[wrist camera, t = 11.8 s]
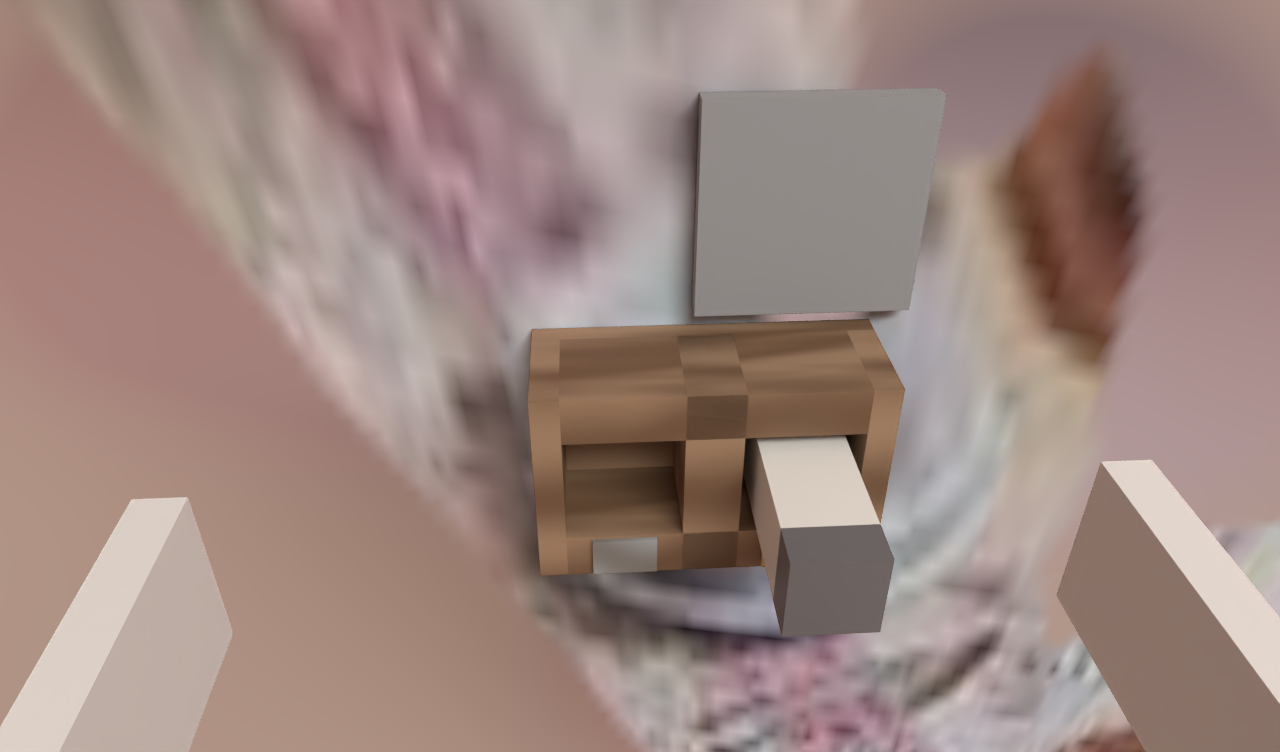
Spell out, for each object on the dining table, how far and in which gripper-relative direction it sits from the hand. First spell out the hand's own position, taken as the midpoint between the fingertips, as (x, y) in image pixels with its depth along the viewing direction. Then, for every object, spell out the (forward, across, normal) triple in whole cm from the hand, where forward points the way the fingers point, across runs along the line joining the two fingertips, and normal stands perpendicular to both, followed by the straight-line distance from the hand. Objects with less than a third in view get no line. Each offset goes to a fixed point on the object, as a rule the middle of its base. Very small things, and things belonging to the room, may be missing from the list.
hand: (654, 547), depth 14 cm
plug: (+28, +8, -18) cm, 34 cm away
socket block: (+29, +4, -18) cm, 34 cm away
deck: (+29, +9, -7) cm, 31 cm away
